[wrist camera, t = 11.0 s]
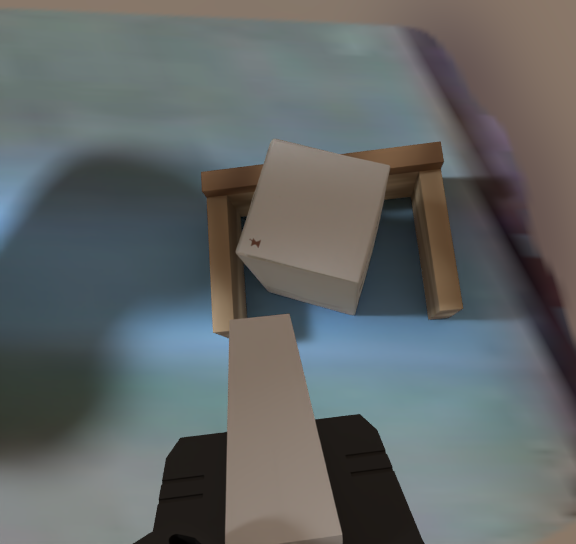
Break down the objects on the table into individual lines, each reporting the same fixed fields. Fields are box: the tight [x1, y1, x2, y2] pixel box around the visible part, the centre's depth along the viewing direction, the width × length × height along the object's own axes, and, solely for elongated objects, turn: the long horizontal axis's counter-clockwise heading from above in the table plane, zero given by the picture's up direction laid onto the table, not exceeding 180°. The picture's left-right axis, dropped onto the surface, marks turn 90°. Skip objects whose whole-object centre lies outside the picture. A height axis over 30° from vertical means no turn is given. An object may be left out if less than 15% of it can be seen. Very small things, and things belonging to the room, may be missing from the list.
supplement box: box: [236, 139, 390, 315], centre depth 34 cm, size 7×7×13 cm
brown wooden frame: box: [201, 142, 463, 338], centre depth 37 cm, size 17×12×6 cm
